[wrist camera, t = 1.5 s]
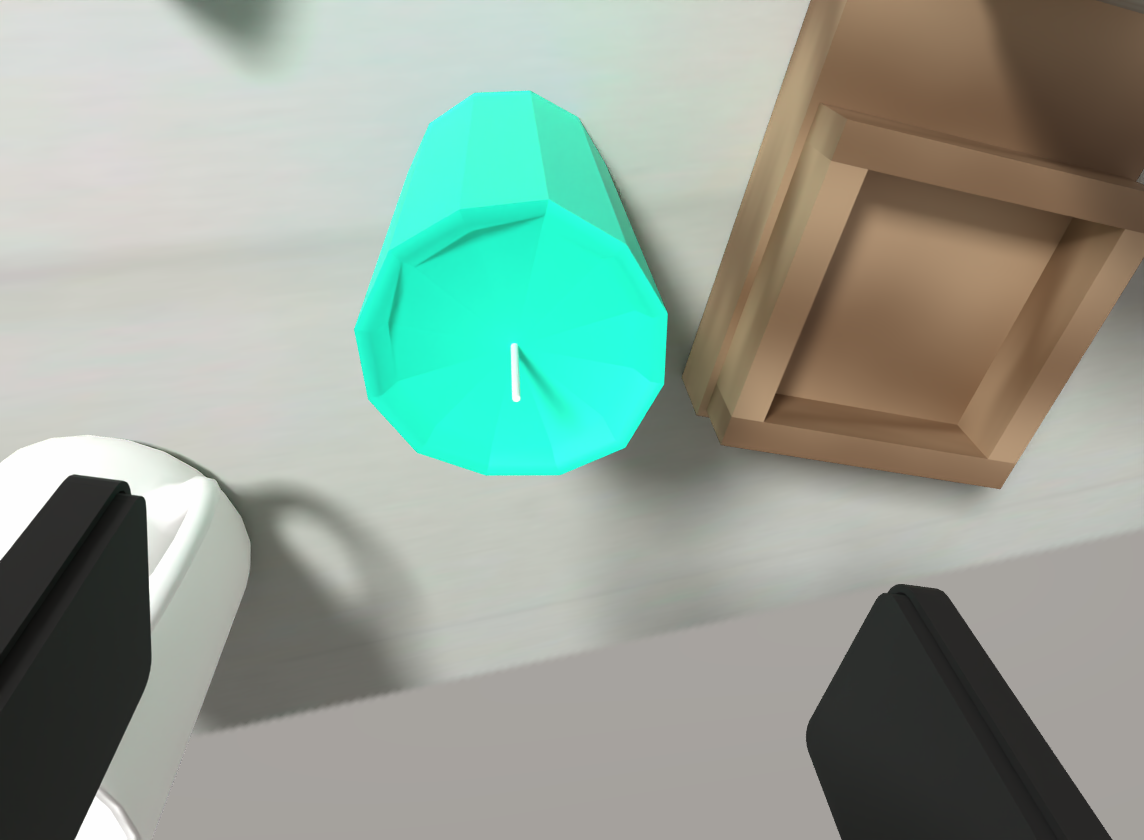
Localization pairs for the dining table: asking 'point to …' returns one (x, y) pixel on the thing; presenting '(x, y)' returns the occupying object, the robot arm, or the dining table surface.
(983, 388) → the brown wooden stand
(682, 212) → the dining table surface
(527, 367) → the candle
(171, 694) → the mug
